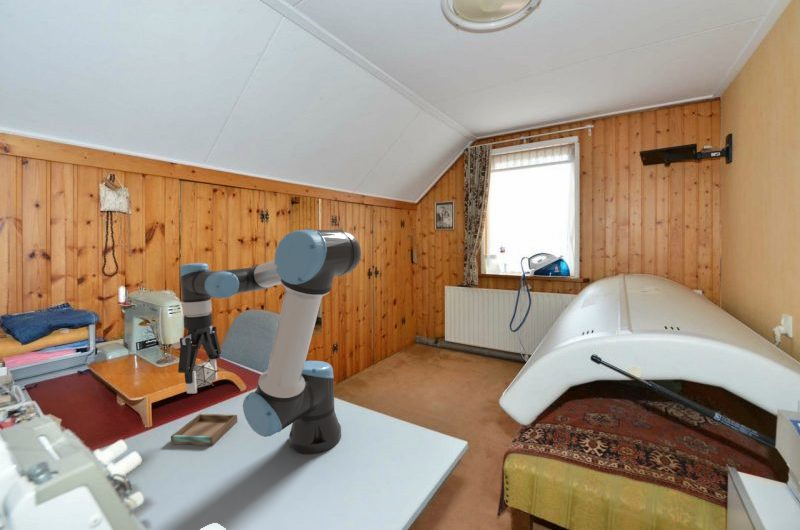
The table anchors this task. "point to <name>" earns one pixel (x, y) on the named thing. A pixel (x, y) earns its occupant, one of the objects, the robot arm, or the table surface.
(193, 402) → the table surface
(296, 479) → the table surface
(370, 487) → the table surface
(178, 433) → the brown wooden tray
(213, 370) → the game die
